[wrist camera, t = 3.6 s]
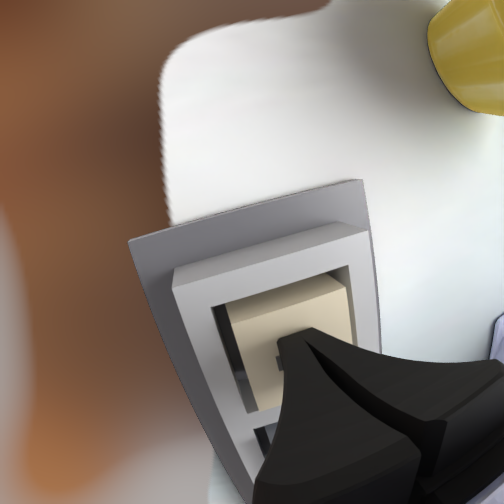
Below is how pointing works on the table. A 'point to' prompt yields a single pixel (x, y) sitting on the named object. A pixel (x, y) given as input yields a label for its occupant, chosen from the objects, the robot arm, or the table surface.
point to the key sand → (284, 327)
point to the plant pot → (471, 52)
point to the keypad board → (246, 284)
